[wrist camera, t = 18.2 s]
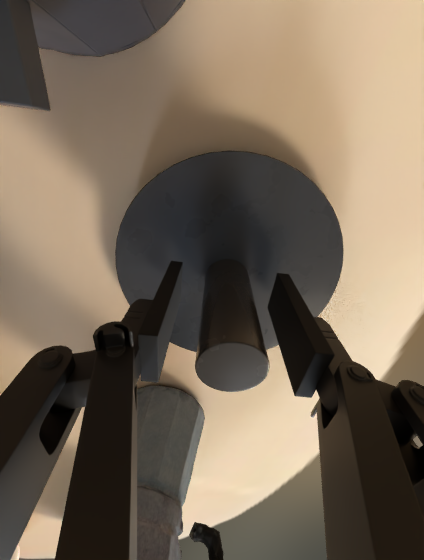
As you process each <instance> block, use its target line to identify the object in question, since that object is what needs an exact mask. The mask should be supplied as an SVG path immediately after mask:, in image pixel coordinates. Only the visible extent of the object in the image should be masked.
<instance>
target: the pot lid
mask: <svg viewBox="0 0 424 560" xmlns="http://www.w3.org/2000/svg"><path fill="white" fill-rule="evenodd" d="M115 255H116V269H117V274H118V279H119V282H120V285H121V288H122V291H123V293H124V295H125V297H126V299H127V301H128V303H129V304H130V306H131V304H132V303H134V302H135V301H136V300H138V299H148V300H153V299H154V297H155V295H156V292H157V290H158V288H159V286H160V284H161V281H162V279H163V277H164V275H165V273H166V270H167V268H168V266H169V264H170V262H171V261H178V262H183V271H182V290H181V300H180V304H179V307H178V311H177V315H176V319H175V322H174V326H173V330H172V333H171V337H170V341H169V342H171V343H173V344H175V345H178V346H180V347H182V348H185V349H188V350H191V351H195V352H197V353H196V361H195V370H196V373H197V375H198V377H199V378H200V380H201V381H202V382H203V383H205V384H206V385H208V386H209V387H211V388H214V389H217V390H220V391H226V392H238V391H244V390H248V389H250V388H253V387H255V386H257V385H258V384H260V383H261V382H262V381H263V380H264V379H265V378H266V376H267V374H268V371H269V360H268V356H267V352H266V349H269V348H272V347H275V346H277V345H279V343H278V340H277V337H276V334H275V330H274V327H273V324H272V321H271V317H270V314H269V311H268V308H267V307H268V303H269V300H270V296H271V293H272V289H273V286H274V283H275V279H276V276H277V273H283V274H289V275H290V277H291V279H292V280H293V282H294V284H295V286H296V287H297V289H298V291H299V293H300V294H301V296H302V298H303V300H304V301H305V303H306V305H307V307H308V308H309V310H310V312H311V314H312V315H313V317H318V315H319V314H320V313H321V312H322V311H323V309H324V308H325V306H326V305H327V304H328V302H329V300H330V299H331V297H332V295H333V293H334V291H335V289H336V286H337V283H338V281H339V278H340V273H341V269H342V263H343V240H342V234H341V230H340V225H339V222H338V219H337V217H336V215H335V212H334V210H333V208H332V206H331V204H330V203H329V201H328V200H327V198H326V197H325V195H324V194H323V193H322V191H321V190H320V189H319V188H318V187H317V186H316V185H315V184H314V183H313V182H312V181H311V180H310V179H309V178H307V177H306V176H305V175H304V174H303V173H301V172H300V171H299V170H297V169H295V168H293V167H292V166H290V165H288V164H286V163H284V162H282V161H280V160H277V159H274V158H272V157H269V156H266V155H261V154H257V153H252V152H244V151H221V152H210V153H206V154H202V155H198V156H194V157H191V158H188V159H186V160H184V161H181V162H179V163H176V164H174V165H173V166H171V167H169V168H168V169H166V170H164V171H163V172H161V173H159V174H158V175H157V176H156V177H155V178H153V179H152V180H151V181H150V182H149V183H148V184H146V185H145V186H144V188H143V189H142V190H141V191H140V192H139V193H138V195H137V196H136V197H135V198H134V200H133V201H132V203H131V205H130V206H129V208H128V209H127V211H126V213H125V215H124V218H123V220H122V222H121V225H120V229H119V232H118V236H117V242H116V251H115Z"/></svg>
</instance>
